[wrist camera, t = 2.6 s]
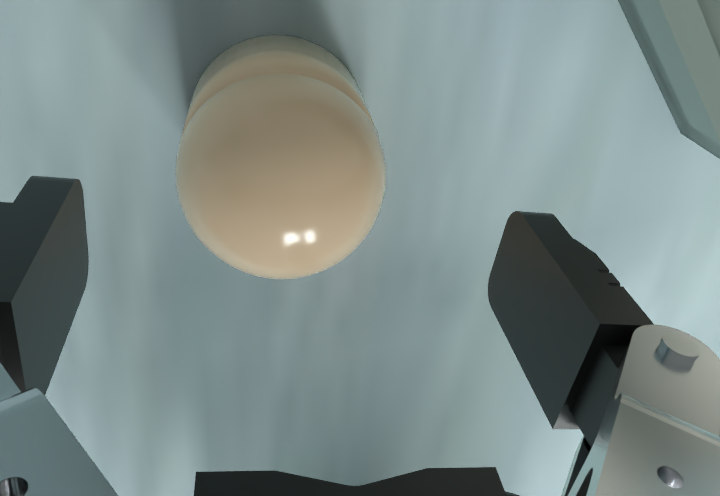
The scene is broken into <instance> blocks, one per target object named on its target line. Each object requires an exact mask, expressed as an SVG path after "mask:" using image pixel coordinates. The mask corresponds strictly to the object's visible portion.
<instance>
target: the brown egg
mask: <svg viewBox="0 0 720 496" xmlns="http://www.w3.org/2000/svg"><path fill="white" fill-rule="evenodd" d="M175 177H176V188H177V192H178V197H179V201H180V205H181V208H182V210H183V213H184V215H185V218H186V220H187V221H188V223H189V225H190V227H191V228H192V230H193V232H194V233H195V235H196V236H197V237H198V239H199V240H200V241H201V242H202V244H203V245H204V246H205V247H206V248H207V249H208V250H210V251H211V252H212V253H213V254H214V255H215V256H217V257H218V258H219V259H221V260H222V261H223V262H225V263H226V264H228V265H230V266H232V267H233V268H236V269H238V270H240V271H242V272H245V273H248V274H251V275H254V276H259V277H264V278H270V279H294V278H301V277H306V276H310V275H313V274H316V273H319V272H322V271H324V270H326V269H328V268H330V267H332V266H334V265H336V264H337V263H339V262H341V261H342V260H344V259H345V258H346V257H347V256H349V255H350V254H351V253H352V252H353V251H354V250H355V249H356V248H357V247H358V246H359V245H360V244H361V243H362V241H363V240H364V239H365V237H366V236H367V235H368V233H369V232H370V230H371V229H372V227H373V225H374V223H375V221H376V219H377V216H378V214H379V211H380V209H381V206H382V202H383V198H384V193H385V183H386V165H385V159H384V154H383V149H382V146H381V143H380V140H379V137H378V134H377V131H376V129H375V127H374V124H373V122H372V119H371V117H370V115H369V112H368V110H367V107H366V105H365V102H364V100H363V98H362V95H361V93H360V90H359V88H358V86H357V84H356V82H355V80H354V78H353V77H352V75H351V74H350V72H349V71H348V69H347V68H346V67H345V66H344V65H343V64H342V63H341V61H340V60H339V59H337V58H336V57H335V56H334V55H333V54H331V53H330V52H329V51H327V50H326V49H324V48H322V47H321V46H319V45H317V44H315V43H312V42H310V41H307V40H304V39H301V38H298V37H292V36H287V35H267V36H259V37H255V38H250V39H247V40H245V41H242V42H239V43H237V44H235V45H234V46H232V47H230V48H228V49H227V50H225V51H224V52H223V53H221V54H220V55H219V56H217V57H216V58H215V59H214V60H213V61H212V62H211V63H210V64H209V66H208V67H207V68H206V70H205V71H204V72H203V74H202V75H201V77H200V79H199V81H198V83H197V85H196V88H195V90H194V93H193V96H192V100H191V104H190V107H189V111H188V114H187V118H186V122H185V125H184V129H183V133H182V136H181V140H180V143H179V148H178V153H177V159H176V173H175Z"/></svg>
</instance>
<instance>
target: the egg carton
mask: <svg viewBox="0 0 720 496" xmlns="http://www.w3.org/2000/svg"><path fill="white" fill-rule="evenodd" d="M618 1H619V3H620V5H621V8H622V10H623V12H624V14H625V16H626V18H627V20H628V22H629V24H630V27H631V29H632V31H633V33H634V35H635V37H636V39H637V41H638V44H639V46H640V48H641V50H642V52H643V54H644V56H645V58H646V60H647V63H648V65H649V67H650V69H651V71H652V73H653V75H654V77H655V80H656V82H657V84H658V86H659V88H660V90H661V92H662V94H663V96H664V99H665V101H666V103H667V105H668V107H669V109H670V111H671V113H672V116H673V118H674V120H675V122H676V124H677V126H678V128H679V130H680V132H681V134H683V135H684V136H686V137H687V138H689V139H690V140H692V141H693V142H695V143H696V144H698V145H700V146H701V147H703V148H704V149H706V150H707V151H709V152H710V153H712V154H713V155H715V156H716V157H718V158H719V159H720V0H618Z"/></svg>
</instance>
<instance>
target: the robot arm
mask: <svg viewBox="0 0 720 496" xmlns="http://www.w3.org/2000/svg"><path fill="white" fill-rule="evenodd" d="M87 276H88V245H87V234H86V222H85V210H84V198H83V189H82V185H81V182H80V180H78V179H69V178H55V177H41V176H31V177H30V178H29V180H28V181H27V183H26V184H25V186H24V187H23V189H22V190H21V192H20V193H19V195H18V196H17V198H16V199H15V201H14V202H13V203H6V202H0V496H118V495H117V493H116V492H115V491H114V489H113V488H112V487H111V485H110V484H109V482H108V481H107V480H106V478H105V477H104V476H103V474H102V473H101V472H100V470H99V469H98V468H97V466H96V465H95V463H94V462H93V461H92V459H91V458H90V457H89V455H88V454H87V453H86V451H85V450H84V448H83V447H82V446H81V444H80V443H79V442H78V440H77V439H76V438H75V436H74V435H73V434H72V432H71V431H70V429H69V428H68V427H67V425H66V424H65V423H64V421H63V420H62V419H61V417H60V416H59V415H58V413H57V412H56V410H55V409H54V408H53V406H52V405H51V404H50V402H49V401H48V400H47V398H46V397H45V394H46V391H47V388H48V386H49V383H50V380H51V378H52V375H53V372H54V370H55V367H56V364H57V362H58V359H59V356H60V354H61V351H62V349H63V346H64V343H65V341H66V338H67V335H68V333H69V330H70V327H71V325H72V322H73V319H74V317H75V314H76V311H77V309H78V306H79V303H80V301H81V298H82V295H83V293H84V290H85V287H86V282H87ZM488 297H489V302H490V305H491V308H492V310H493V312H494V314H495V316H496V318H497V320H498V322H499V324H500V326H501V328H502V329H503V331H504V333H505V335H506V337H507V339H508V341H509V343H510V345H511V347H512V349H513V351H514V353H515V355H516V357H517V359H518V361H519V363H520V365H521V367H522V369H523V371H524V373H525V375H526V377H527V379H528V381H529V383H530V385H531V387H532V389H533V391H534V393H535V395H536V397H537V399H538V401H539V403H540V405H541V407H542V409H543V411H544V413H545V415H546V417H547V419H548V421H549V422H550V424H551V426H552V428H553V429H581V431H582V433H583V437H582V439H581V441H580V443H579V445H578V447H577V450H576V452H575V455H574V459H573V462H572V465H571V468H570V471H569V474H568V477H567V480H566V483H565V486H564V489H563V492H562V495H561V496H720V360H719V358H718V357H717V355H716V354H715V353H714V352H713V351H712V350H711V349H710V348H709V347H708V346H706V345H705V344H704V343H702V342H701V341H699V340H698V339H696V338H695V337H693V336H691V335H689V334H687V333H685V332H683V331H680V330H677V329H675V328H671V327H667V326H662V325H654V324H653V323H652V321H651V320H650V319H649V318H648V317H647V315H646V314H645V313H644V312H643V311H642V309H641V308H640V307H639V306H638V304H637V303H636V302H635V301H634V300H633V298H632V297H631V296H630V295H629V294H628V292H627V291H626V290H625V289H624V287H620V283H619V281H618V280H617V279H616V278H615V276H614V275H613V274H612V273H609V269H608V268H607V267H606V266H605V264H604V263H603V262H602V261H601V259H600V258H599V257H598V256H597V255H596V254H595V253H594V252H592V251H591V250H590V249H588V248H587V247H585V246H584V245H582V244H581V243H580V242H578V241H577V240H575V239H573V238H572V237H571V236H570V235H569V233H568V232H567V231H566V230H565V228H564V227H563V226H562V224H561V223H560V222H559V221H558V219H557V218H556V217H555V216H554V215H553V214H549V213H535V212H520V211H515V212H513V213H512V214H511V215H510V217H509V218H508V220H507V223H506V226H505V229H504V232H503V235H502V238H501V242H500V245H499V248H498V251H497V254H496V257H495V261H494V264H493V267H492V270H491V273H490V277H489V283H488ZM194 496H519V495H516V494H513V493H509V492H505V491H504V488H503V486H502V483H501V481H500V478H499V475H498V473H497V470H496V467H482V468H427V469H423V470H419V471H415V472H411V473H408V474H404V475H400V476H396V477H392V478H389V479H385V480H381V481H377V482H374V483H370V484H366V485H361V486H347V485H342V484H338V483H333V482H328V481H323V480H318V479H313V478H308V477H303V476H298V475H294V474H289V473H284V472H279V471H225V472H196V479H195V490H194Z"/></svg>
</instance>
